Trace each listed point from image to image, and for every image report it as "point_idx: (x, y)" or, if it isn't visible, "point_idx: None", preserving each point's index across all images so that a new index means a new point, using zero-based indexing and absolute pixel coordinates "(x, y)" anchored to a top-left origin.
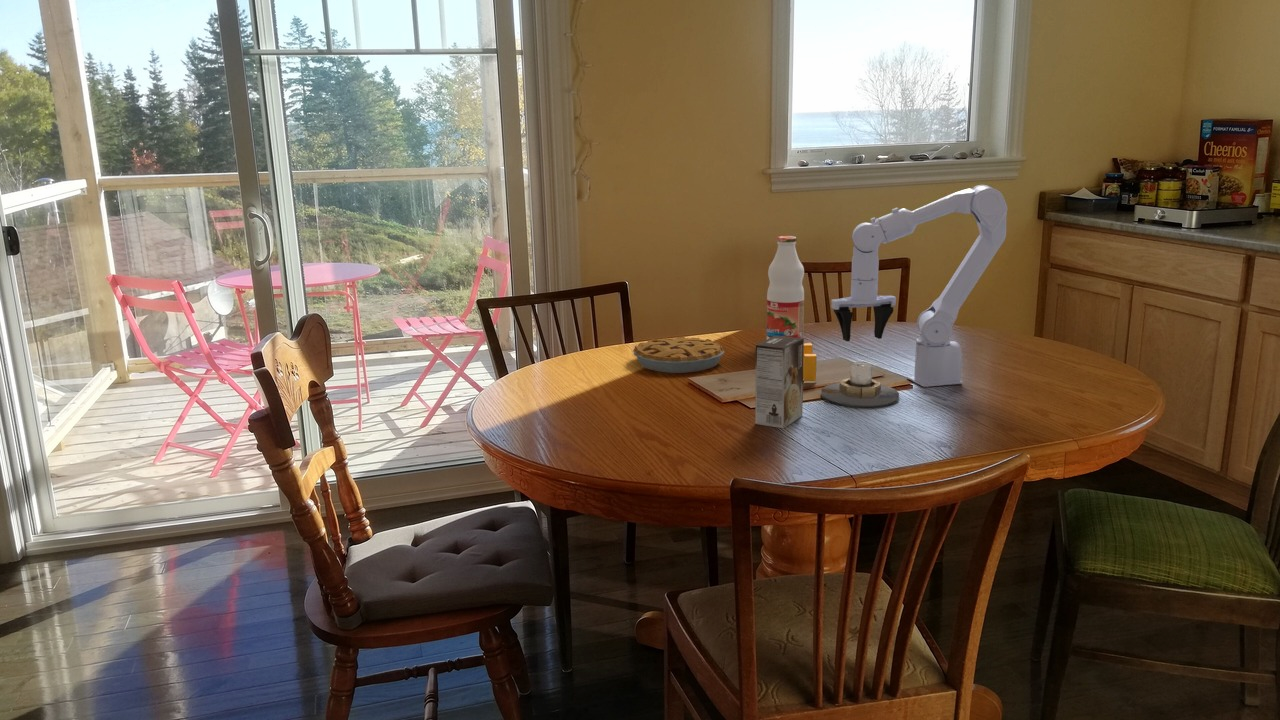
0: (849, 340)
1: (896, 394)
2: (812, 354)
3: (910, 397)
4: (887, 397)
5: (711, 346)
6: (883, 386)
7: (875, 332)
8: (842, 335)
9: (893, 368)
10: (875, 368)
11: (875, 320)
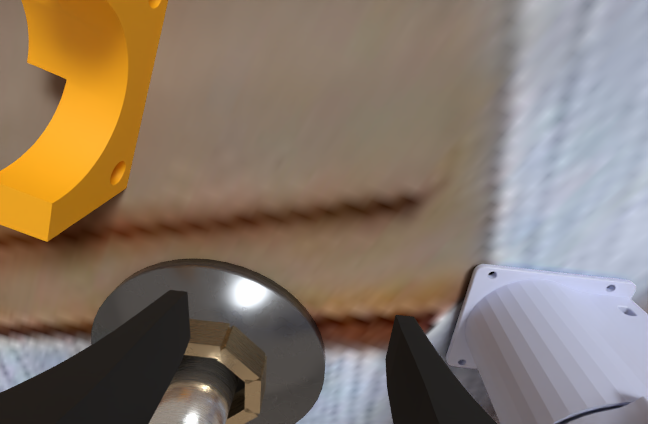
0: (187, 341)
1: (298, 413)
2: (32, 205)
3: (345, 402)
4: (259, 422)
5: None
6: (308, 349)
7: (398, 344)
8: (152, 303)
9: (552, 116)
10: (480, 81)
11: (426, 405)
